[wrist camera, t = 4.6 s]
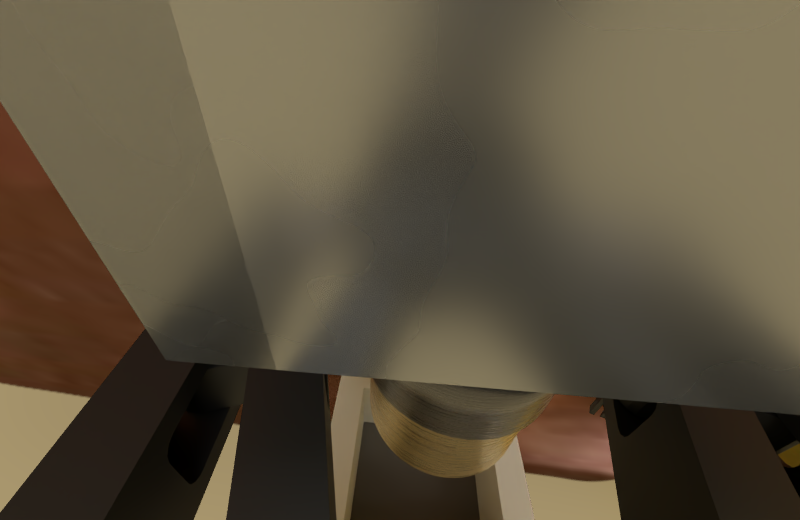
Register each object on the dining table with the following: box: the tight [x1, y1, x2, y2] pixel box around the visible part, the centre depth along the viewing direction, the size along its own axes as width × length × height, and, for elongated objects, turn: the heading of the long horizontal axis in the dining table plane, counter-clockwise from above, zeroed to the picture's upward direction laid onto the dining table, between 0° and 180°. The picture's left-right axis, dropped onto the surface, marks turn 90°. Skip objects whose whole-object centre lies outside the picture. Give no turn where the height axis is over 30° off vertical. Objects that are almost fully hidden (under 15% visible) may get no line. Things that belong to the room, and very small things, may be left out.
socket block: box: [331, 375, 535, 520], centre depth 17 cm, size 5×9×12 cm, turn 86°
